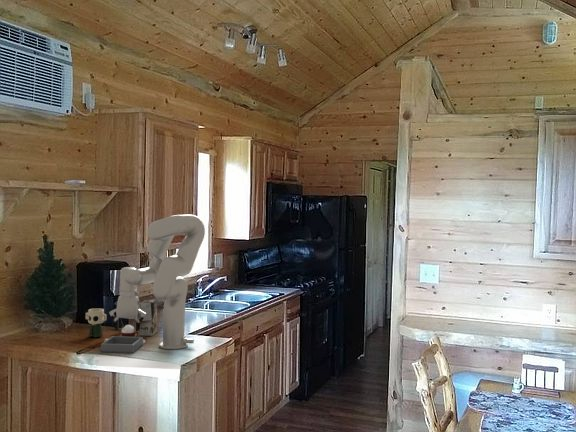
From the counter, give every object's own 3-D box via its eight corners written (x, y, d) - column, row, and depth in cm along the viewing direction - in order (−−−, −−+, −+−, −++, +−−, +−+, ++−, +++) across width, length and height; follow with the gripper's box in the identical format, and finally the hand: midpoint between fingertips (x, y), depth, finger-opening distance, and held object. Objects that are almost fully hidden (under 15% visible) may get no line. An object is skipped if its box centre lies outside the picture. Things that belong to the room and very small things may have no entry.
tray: (143, 344, 278) (143, 337, 278) (133, 353, 263) (133, 345, 263) (112, 343, 278) (112, 336, 278) (100, 352, 263) (101, 343, 263)
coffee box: (152, 336, 295) (153, 302, 295) (139, 335, 295) (140, 302, 295) (157, 331, 304) (157, 299, 304) (144, 331, 305) (144, 299, 304)
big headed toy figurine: (81, 337, 288) (81, 310, 288) (89, 334, 295) (89, 307, 295) (102, 339, 286) (102, 311, 285) (109, 336, 293) (110, 309, 292)
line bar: (144, 343, 281) (145, 340, 281) (143, 344, 279) (143, 341, 279) (106, 341, 282) (106, 338, 282) (104, 342, 280) (104, 339, 280)
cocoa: (139, 339, 289) (141, 314, 289) (131, 342, 283) (133, 316, 283) (122, 336, 292) (124, 311, 292) (114, 339, 286) (116, 313, 286)
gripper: (148, 293, 290) (147, 329, 291) (112, 291, 291) (111, 327, 292) (144, 296, 283) (143, 332, 284) (107, 294, 284) (106, 331, 284)
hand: (127, 330), depth 288 cm, fingers open, 9 cm apart
